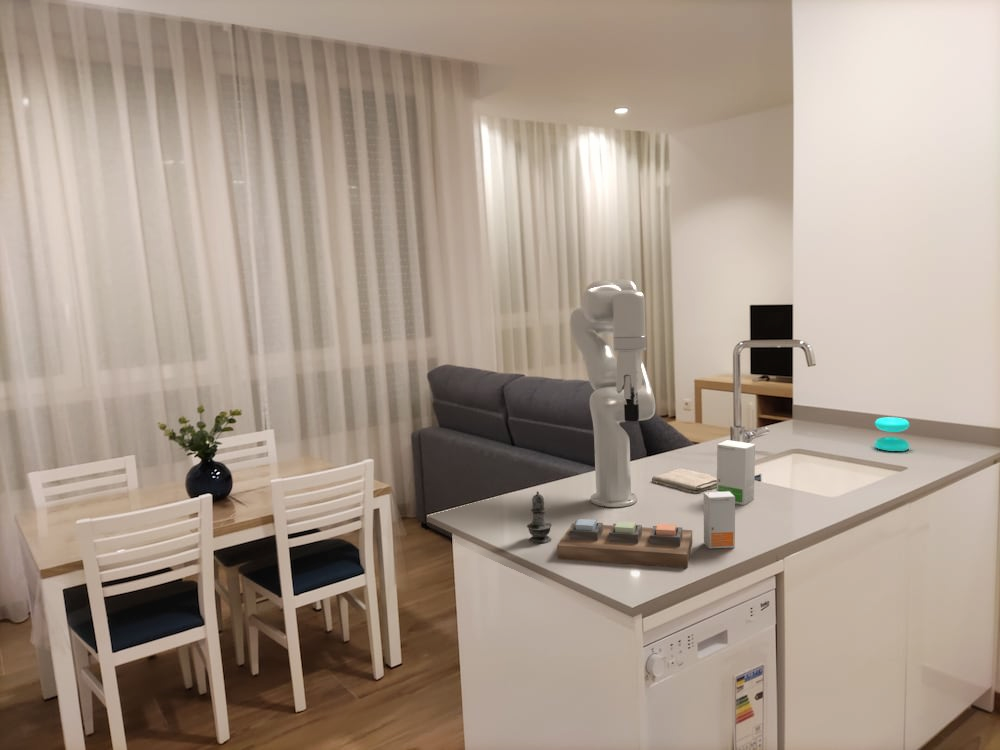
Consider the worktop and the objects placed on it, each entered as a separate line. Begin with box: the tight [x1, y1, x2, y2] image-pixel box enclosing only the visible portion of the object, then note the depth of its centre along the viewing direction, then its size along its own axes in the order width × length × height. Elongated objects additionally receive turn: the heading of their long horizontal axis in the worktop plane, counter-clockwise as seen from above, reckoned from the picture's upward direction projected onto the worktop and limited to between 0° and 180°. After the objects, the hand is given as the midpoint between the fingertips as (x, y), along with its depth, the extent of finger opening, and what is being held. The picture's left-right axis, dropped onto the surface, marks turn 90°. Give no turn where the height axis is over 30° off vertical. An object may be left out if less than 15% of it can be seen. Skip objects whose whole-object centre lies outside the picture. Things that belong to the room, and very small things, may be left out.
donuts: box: [874, 416, 910, 452], centre depth 241 cm, size 10×10×10 cm
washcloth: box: [651, 468, 717, 494], centre depth 214 cm, size 12×18×3 cm, turn 35°
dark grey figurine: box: [526, 490, 552, 545], centre depth 174 cm, size 6×6×12 cm
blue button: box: [575, 518, 597, 531], centre depth 167 cm, size 4×4×3 cm
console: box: [556, 520, 693, 569], centre depth 165 cm, size 15×28×5 cm, turn 71°
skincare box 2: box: [716, 439, 756, 506], centre depth 196 cm, size 8×7×16 cm
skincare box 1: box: [703, 491, 736, 550], centre depth 164 cm, size 6×4×12 cm
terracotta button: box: [656, 522, 677, 536], centre depth 161 cm, size 4×4×3 cm
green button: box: [615, 520, 637, 533], centre depth 164 cm, size 4×4×3 cm
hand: (631, 420), depth 175 cm, fingers closed
